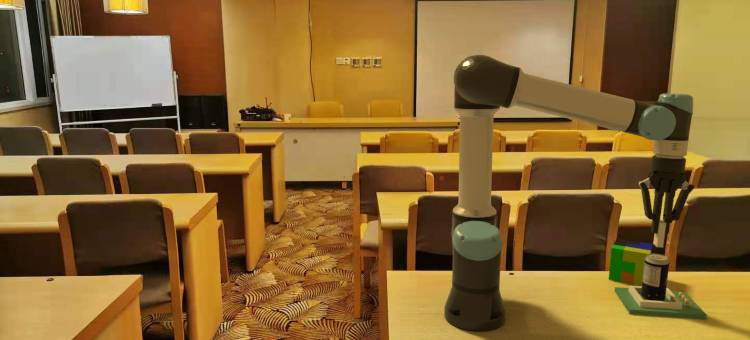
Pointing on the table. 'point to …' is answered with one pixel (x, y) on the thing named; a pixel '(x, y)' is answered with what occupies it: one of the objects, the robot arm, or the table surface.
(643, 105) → the robot arm
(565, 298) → the table surface
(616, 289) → the header board
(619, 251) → the puzzle toy
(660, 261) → the beverage can
